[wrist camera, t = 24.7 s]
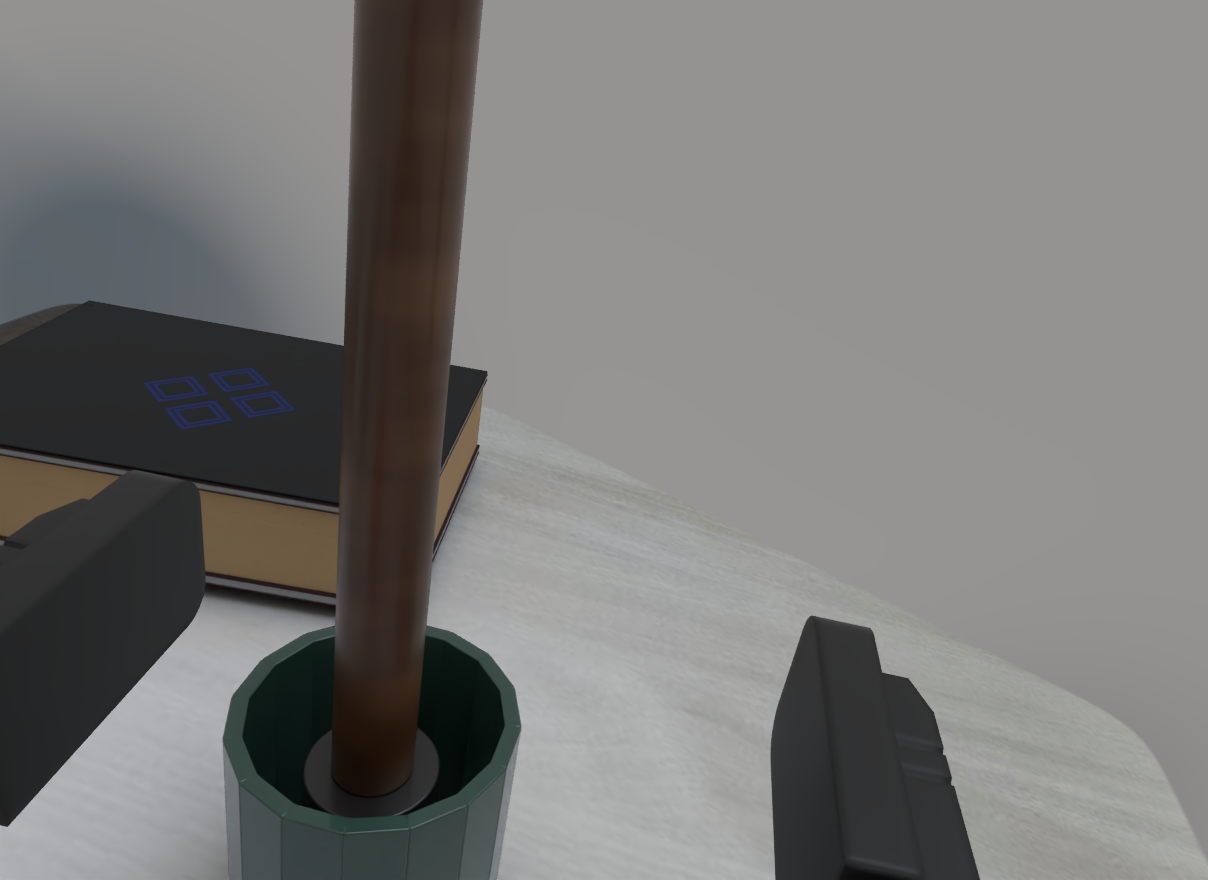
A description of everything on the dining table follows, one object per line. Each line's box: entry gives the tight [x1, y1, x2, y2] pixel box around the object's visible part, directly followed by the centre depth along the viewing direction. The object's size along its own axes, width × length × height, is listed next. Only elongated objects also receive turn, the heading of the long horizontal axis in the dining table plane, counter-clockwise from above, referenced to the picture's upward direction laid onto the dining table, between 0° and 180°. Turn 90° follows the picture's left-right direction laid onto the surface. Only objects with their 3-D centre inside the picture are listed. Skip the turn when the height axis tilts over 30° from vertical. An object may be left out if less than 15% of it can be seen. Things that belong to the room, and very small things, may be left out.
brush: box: [302, 0, 483, 818], centre depth 23 cm, size 4×4×28 cm
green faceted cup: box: [223, 625, 521, 880], centre depth 27 cm, size 8×8×9 cm
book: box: [0, 301, 487, 606], centre depth 48 cm, size 17×25×7 cm
